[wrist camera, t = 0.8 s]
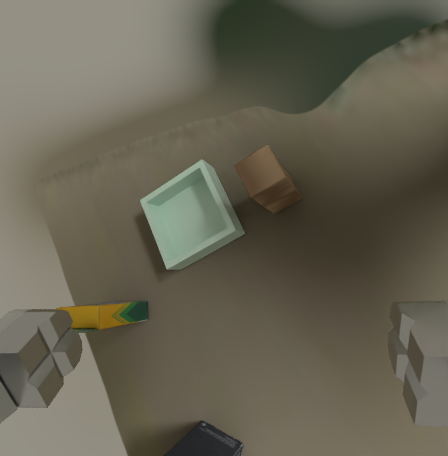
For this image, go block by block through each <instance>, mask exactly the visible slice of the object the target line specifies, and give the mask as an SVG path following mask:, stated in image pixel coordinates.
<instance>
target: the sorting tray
mask: <svg viewBox="0 0 448 456" xmlns="http://www.w3.org/2000/svg"><path fill="white" fill-rule="evenodd" d="M140 202H141V204H142V207H143V209H144V212H145V215H146V217H147V220H148V222H149V225H150V227H151V230H152V233H153V235H154V238H155V240H156V243H157V245H158V248H159V251H160V253H161V256H162V258H163V261H164V264H165V266H166V269H167V270H181V269H183V268H185V267H187V266H188V265H190V264H192V263H194V262H196V261H197V260H199V259H201V258H203V257H205V256H206V255H208V254H210V253H212V252H214V251H215V250H217V249H219V248H221V247H222V246H224V245H226V244H228V243H230V242H231V241H233V240H235V239H237V238H239V237H240V236H242V235H244V234H245V232H244V230H243V228H242V226H241V224H240V222H239V220H238V218H237V215H236V213H235V211H234V209H233V207H232V205H231V203H230V201H229V199H228V197H227V195H226V193H225V191H224V188H223V186H222V184H221V182H220V180H219V178H218V176H217V174H216V172H215V170H214V168H213V167H212V166H211V165H209V164H208V163H207V162H205V161H204V160H200V161H199V162H197V163H196V164H194V165H193V166H191V167H190V168H188V169H187V170H185V171H184V172H182V173H181V174H179V175H178V176H176V177H175V178H173V179H172V180H170V181H169V182H167V183H166V184H164V185H163V186H161V187H159V188H158V189H156V190H155V191H153V192H152V193H150V194H149V195H147V196H146V197H144V198H143V199H141V200H140Z"/></svg>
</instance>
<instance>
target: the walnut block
mask: <svg viewBox="0 0 448 456" xmlns="http://www.w3.org/2000/svg"><path fill="white" fill-rule="evenodd" d="M234 166H235V168H236V170H237V172H238V174H239V176H240V178H241V180H242V182H243V184H244V186H245V187H246V189H247V191H248V193H249V195H250V197H251V198H252V199H253V200H255V201H256V202H258V203H259V204H261V205H262V206H263V207H265V208H266V209H268V210H269V211H271V212H272V213H273V214H276V213H277V212H279V211H281V210H283V209H285V208H286V207H288V206H290V205H292V204H294V203H295V202H297V201H299V200H301V199H302V197H301V195H300V194H299V192H298V190H297V188H296V187H295V185H294V183H293V181H292V179H291V178H290V176H289V174H288V172H287V171H286V170H285V168H284V167H283V165H282V164H281V162H280V161H279V160H278V158H277V157H276V155H275V154H274V153H273V151H272V150H271V148H270V147H269V146H268V144H267V145H266V146H264V147H262V148H261V149H259V150H258V151H256V152H255V153H253V154H251V155H250V156H248V157H247V158H245V159H244V160H242V161H240V162H239V163H237V164H236V165H234Z"/></svg>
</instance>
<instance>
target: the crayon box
mask: <svg viewBox="0 0 448 456" xmlns="http://www.w3.org/2000/svg"><path fill="white" fill-rule="evenodd" d="M56 309H62V310H65V311H68V312H69V314H70V316H71V318H72V320H73V323H72V326H71V328H72V329H73V330H74V331H76V332H77V333H87V332H92V331H97V330H101V329H106V328H111V327H116V326H121V325H126V324H132V323H137V322H143V321H148V301H134V302H116V303H102V304H91V305H82V306H72V307H60V308H56Z"/></svg>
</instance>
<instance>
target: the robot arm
mask: <svg viewBox="0 0 448 456" xmlns="http://www.w3.org/2000/svg"><path fill="white" fill-rule="evenodd" d="M390 318H391V321H392V323H393V325H394V328H393V329H392V330H391V331H390V332H389V337H388V347H389V356H390V360H391V364H392V367H393V370H394V373H395V376H396V377H397V378H398V379H400V380H401V381H402V382H403V383H404V387H403V397H404V399H405V402H406V404H407V407H408V409H409V412H410V415H411V417H412V420H413V422H414V425H422V426H435V427H448V300H444V301H425V302H393V303H392V306H391V310H390ZM72 323H73V320H72V318H71V316H70V314H69V312H68V311H65V310H62V309H55V310H53V309H48V310H47V309H43V310H42V309H32V310H14V311H11V312H8V313H7V314H6V315H5V316H4V317H3V318H1V319H0V423H1V422H2V421H4V420H5V419H6V418H7V417H9V416H10V415H11V414H12V413H13V412H15V411H16V410H17V407H27V408H48V406H49V405H50V403H51V402H52V400H53V399H54V397H55V396H56V394H57V393H58V392H59V390H60V389H61V387H62V386H63V377H64V376H66V375H67V374H68V373H70V372H71V371H72V370H74V368H75V367H76V365H77V364H78V362H79V361H80V357H81V353H82V341H81V339H80V336H79V334H78V333H77V332H76V331H74V330H73V329H72V328H71V326H72Z"/></svg>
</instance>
